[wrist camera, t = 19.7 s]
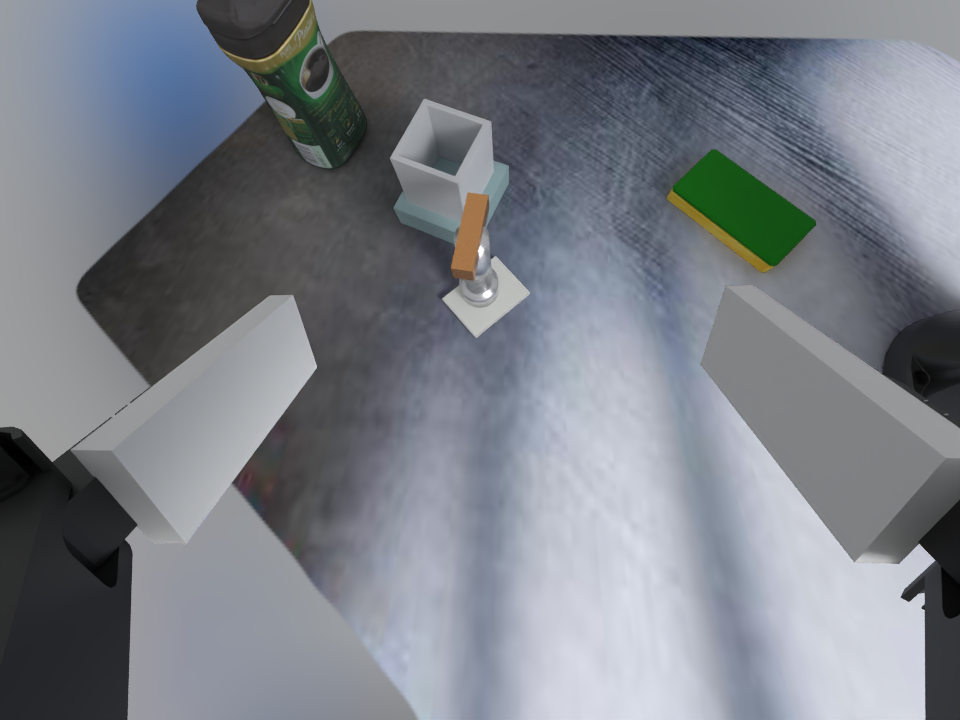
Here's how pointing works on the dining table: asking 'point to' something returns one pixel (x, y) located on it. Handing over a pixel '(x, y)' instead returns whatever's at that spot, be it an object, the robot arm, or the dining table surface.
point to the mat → (487, 316)
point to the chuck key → (474, 254)
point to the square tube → (445, 169)
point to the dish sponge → (740, 211)
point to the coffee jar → (291, 73)
